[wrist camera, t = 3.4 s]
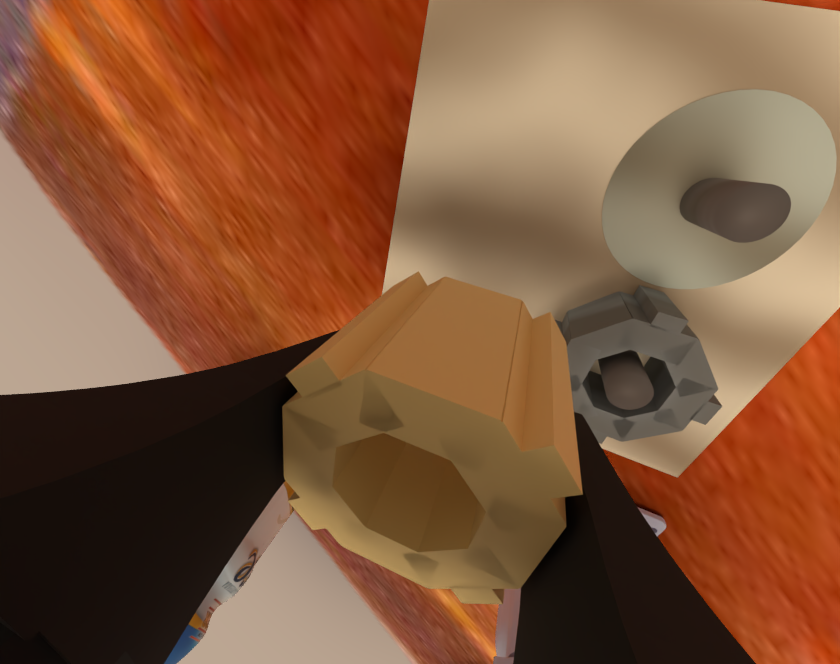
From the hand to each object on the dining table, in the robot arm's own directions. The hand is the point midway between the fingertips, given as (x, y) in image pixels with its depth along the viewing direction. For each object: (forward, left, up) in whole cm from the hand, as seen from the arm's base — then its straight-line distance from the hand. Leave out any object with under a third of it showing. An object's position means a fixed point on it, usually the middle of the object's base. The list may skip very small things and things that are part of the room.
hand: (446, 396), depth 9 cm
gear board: (+2, -3, -10) cm, 11 cm away
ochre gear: (0, 0, -2) cm, 2 cm away
